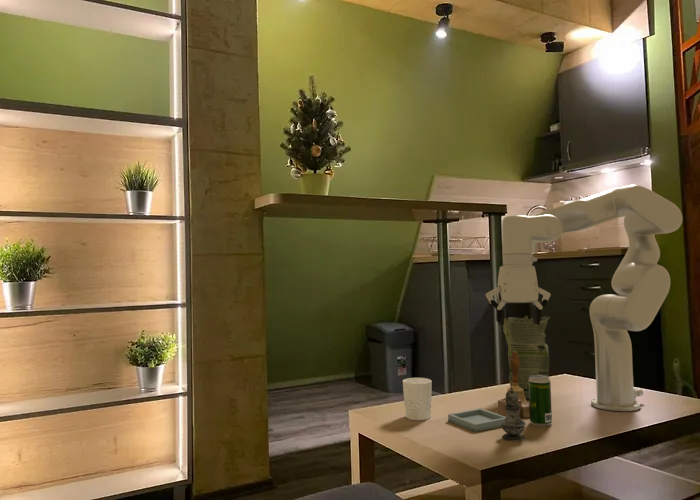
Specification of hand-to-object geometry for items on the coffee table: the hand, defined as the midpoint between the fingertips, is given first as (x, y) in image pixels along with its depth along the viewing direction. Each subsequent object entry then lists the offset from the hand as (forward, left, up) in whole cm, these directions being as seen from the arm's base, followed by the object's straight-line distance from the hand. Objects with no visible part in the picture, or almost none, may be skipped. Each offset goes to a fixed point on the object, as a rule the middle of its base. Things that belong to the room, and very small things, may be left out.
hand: (518, 324), depth 147 cm
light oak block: (-4, -1, -25) cm, 25 cm away
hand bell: (-6, -8, -25) cm, 27 cm away
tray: (+13, -2, -25) cm, 28 cm away
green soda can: (0, +7, -25) cm, 26 cm away
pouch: (-19, -16, -25) cm, 35 cm away
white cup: (+23, -15, -25) cm, 37 cm away
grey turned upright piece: (+14, +12, -25) cm, 31 cm away
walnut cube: (+2, -2, -25) cm, 25 cm away
